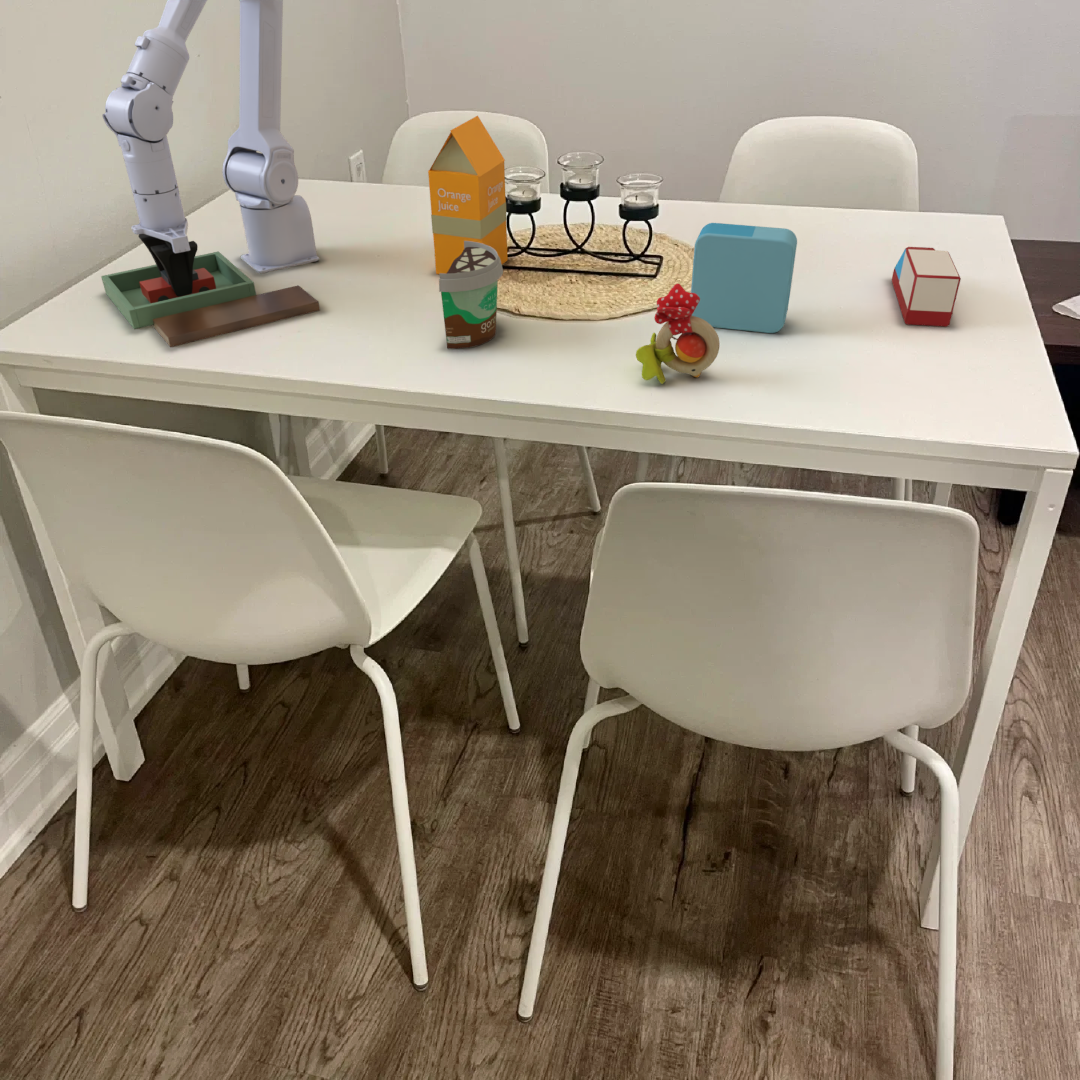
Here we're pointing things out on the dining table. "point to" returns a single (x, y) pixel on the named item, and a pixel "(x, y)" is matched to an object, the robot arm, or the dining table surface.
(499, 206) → the orange juice
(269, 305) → the board
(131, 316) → the tray
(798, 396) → the dining table surface
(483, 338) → the food container
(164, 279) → the toy car
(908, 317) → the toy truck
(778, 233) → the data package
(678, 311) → the bird rattle
